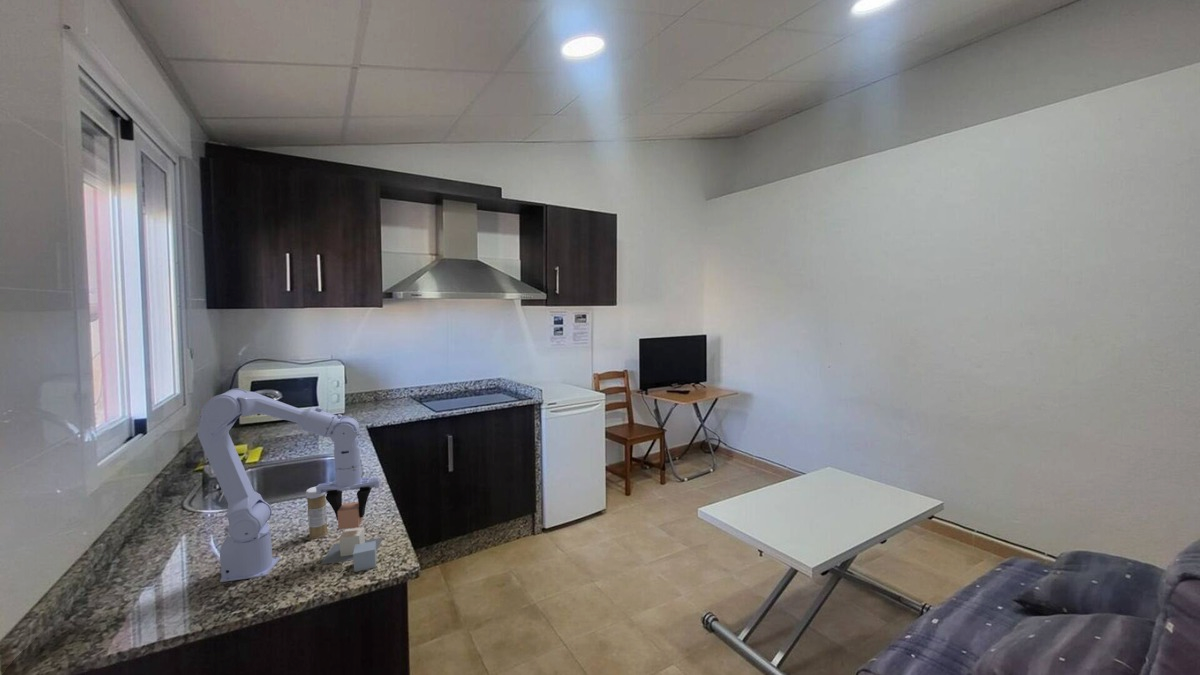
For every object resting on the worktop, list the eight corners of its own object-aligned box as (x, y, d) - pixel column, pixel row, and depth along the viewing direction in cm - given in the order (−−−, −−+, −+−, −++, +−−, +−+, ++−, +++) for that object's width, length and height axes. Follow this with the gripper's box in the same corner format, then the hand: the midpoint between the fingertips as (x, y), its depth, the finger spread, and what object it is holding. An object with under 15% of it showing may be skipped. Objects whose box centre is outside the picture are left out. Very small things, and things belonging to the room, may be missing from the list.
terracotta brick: (338, 529, 116) (337, 511, 116) (344, 521, 121) (343, 503, 120) (358, 527, 117) (357, 509, 117) (363, 519, 122) (362, 501, 121)
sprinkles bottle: (314, 532, 131) (311, 485, 130) (331, 530, 131) (328, 484, 130) (305, 540, 126) (302, 492, 125) (323, 539, 127) (320, 491, 126)
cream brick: (340, 556, 117) (339, 538, 116) (346, 547, 121) (345, 529, 121) (360, 553, 118) (359, 535, 117) (365, 544, 122) (364, 527, 122)
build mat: (320, 565, 113) (320, 564, 113) (334, 545, 123) (334, 544, 123) (373, 558, 116) (373, 557, 116) (382, 539, 126) (382, 537, 126)
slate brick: (354, 573, 110) (353, 553, 110) (356, 563, 114) (355, 544, 114) (375, 568, 112) (374, 549, 111) (376, 559, 116) (375, 540, 116)
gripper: (310, 473, 112) (313, 527, 113) (374, 467, 116) (377, 520, 117) (320, 464, 119) (324, 515, 120) (381, 458, 123) (384, 508, 123)
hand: (351, 517), depth 119 cm, fingers closed on terracotta brick, 5 cm apart
